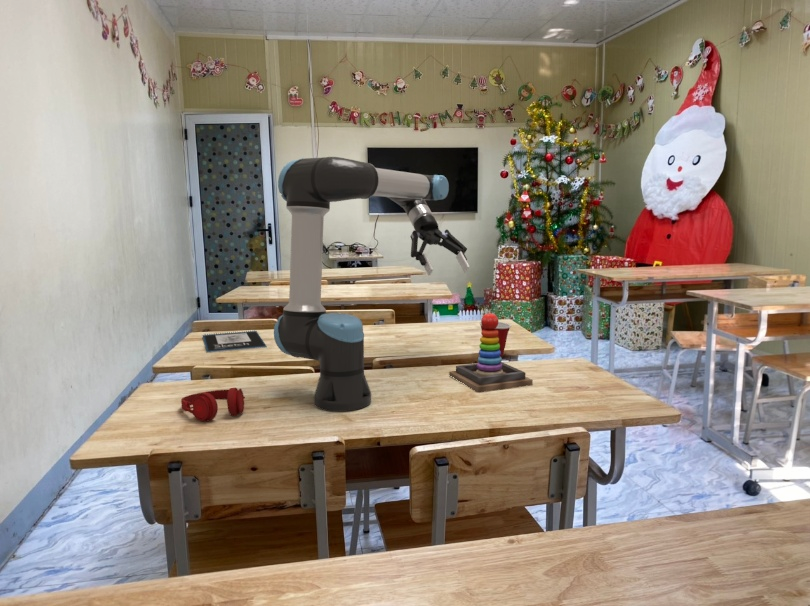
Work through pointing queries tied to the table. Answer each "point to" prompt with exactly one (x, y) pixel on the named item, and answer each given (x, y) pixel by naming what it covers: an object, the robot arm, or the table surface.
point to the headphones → (213, 403)
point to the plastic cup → (501, 335)
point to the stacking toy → (489, 348)
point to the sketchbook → (233, 341)
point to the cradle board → (490, 378)
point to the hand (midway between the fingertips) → (449, 271)
